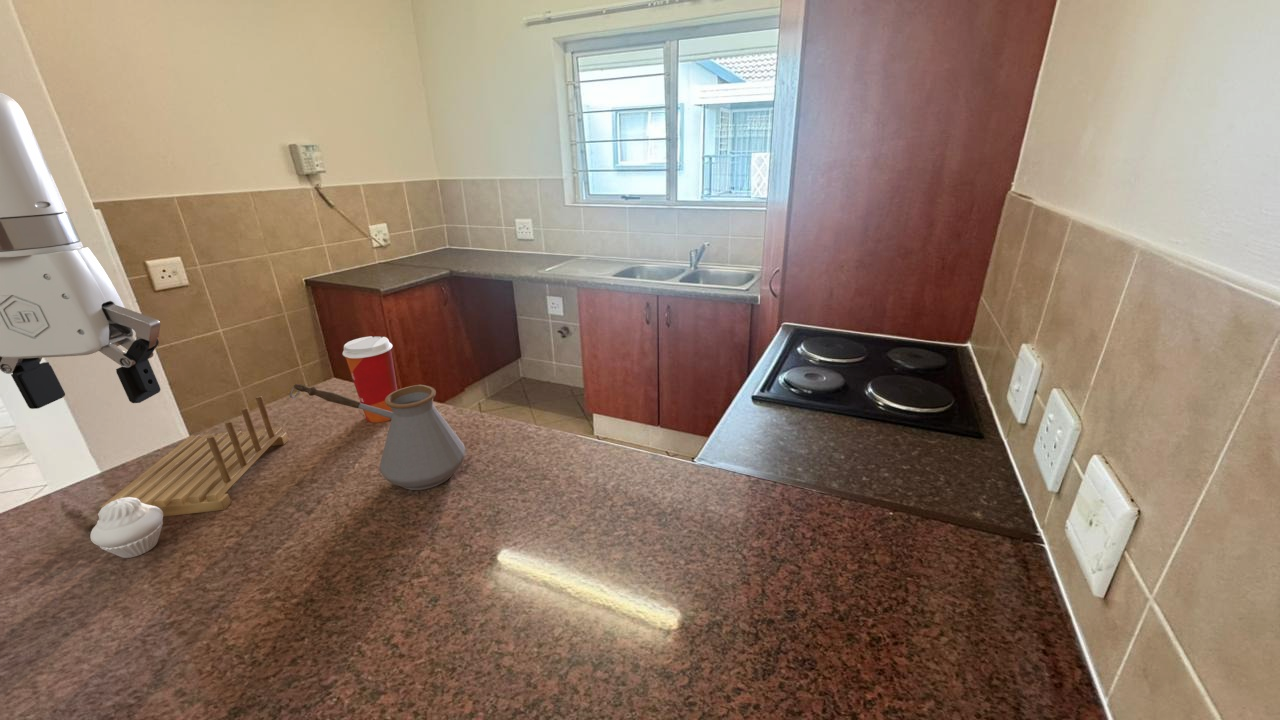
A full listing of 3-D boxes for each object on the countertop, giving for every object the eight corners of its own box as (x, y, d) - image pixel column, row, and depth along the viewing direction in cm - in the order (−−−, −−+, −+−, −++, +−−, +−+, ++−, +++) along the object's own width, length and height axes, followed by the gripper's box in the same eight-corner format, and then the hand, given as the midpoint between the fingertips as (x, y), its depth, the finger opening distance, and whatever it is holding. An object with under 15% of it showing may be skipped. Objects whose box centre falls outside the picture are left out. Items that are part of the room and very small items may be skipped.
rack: (103, 523, 64) (70, 460, 61) (194, 448, 81) (172, 396, 77) (224, 510, 66) (199, 448, 63) (288, 440, 83) (271, 388, 79)
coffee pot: (477, 451, 79) (462, 363, 73) (454, 497, 68) (435, 398, 62) (339, 455, 78) (314, 367, 72) (295, 503, 67) (261, 403, 62)
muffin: (167, 554, 59) (144, 505, 56) (96, 576, 56) (68, 526, 53) (177, 524, 64) (157, 478, 61) (112, 542, 61) (87, 495, 58)
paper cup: (377, 404, 94) (360, 334, 89) (414, 406, 93) (400, 335, 88) (349, 424, 87) (329, 349, 82) (389, 427, 86) (372, 351, 81)
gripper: (-138, 246, 43) (-32, 422, 49) (80, 239, 44) (156, 411, 50) (-36, 233, 50) (46, 389, 56) (150, 227, 51) (209, 381, 57)
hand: (98, 400), depth 53 cm, fingers open, 9 cm apart
